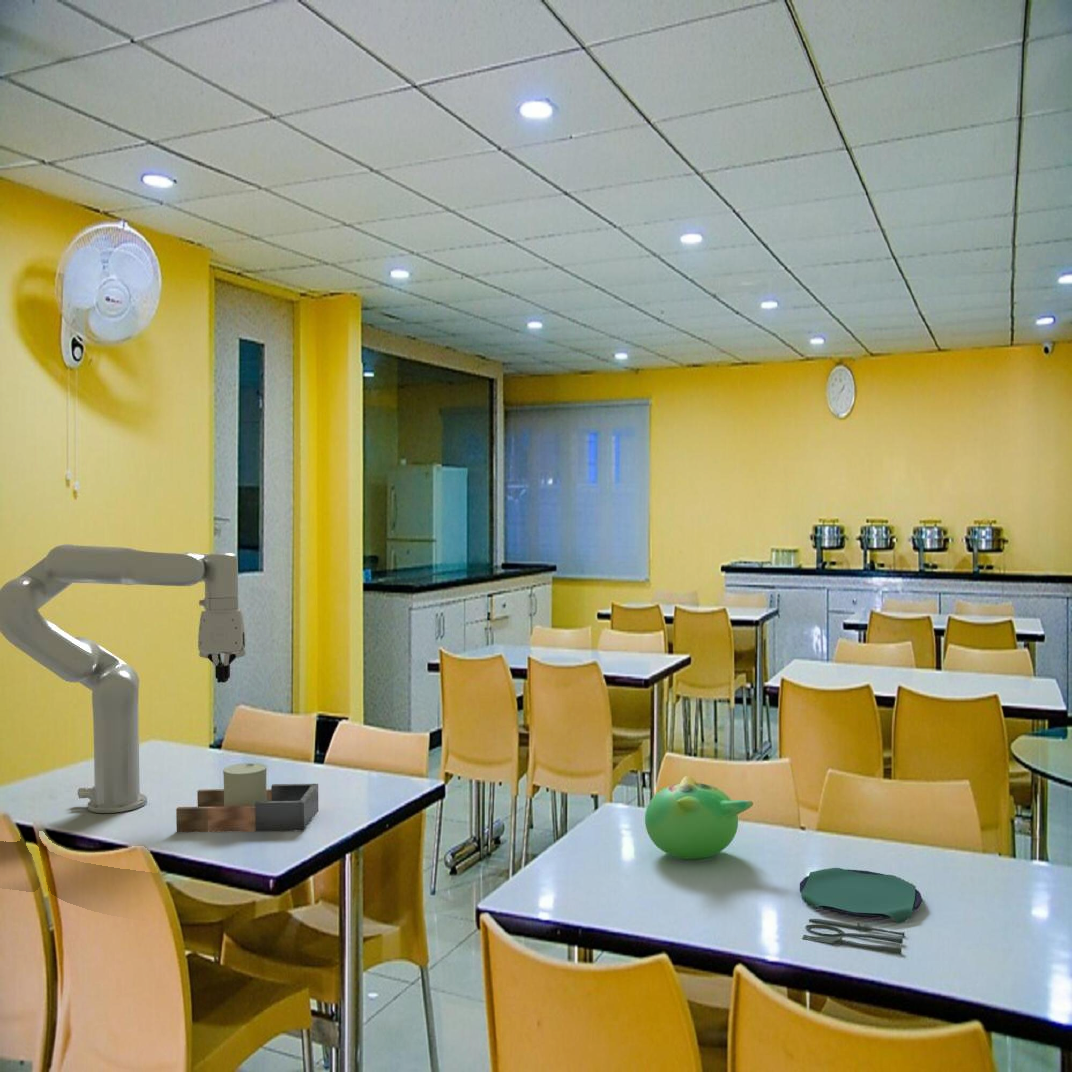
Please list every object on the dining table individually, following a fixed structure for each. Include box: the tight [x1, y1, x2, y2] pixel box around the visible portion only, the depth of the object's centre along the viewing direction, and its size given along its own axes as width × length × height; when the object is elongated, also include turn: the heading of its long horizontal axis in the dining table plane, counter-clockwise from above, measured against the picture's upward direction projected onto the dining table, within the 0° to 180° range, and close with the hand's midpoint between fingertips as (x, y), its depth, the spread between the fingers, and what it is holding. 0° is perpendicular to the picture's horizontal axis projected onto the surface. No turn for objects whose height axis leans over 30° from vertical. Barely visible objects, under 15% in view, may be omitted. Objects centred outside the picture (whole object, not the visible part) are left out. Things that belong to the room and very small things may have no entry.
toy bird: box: [644, 775, 754, 860], centre depth 185 cm, size 18×17×15 cm
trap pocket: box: [255, 783, 320, 832], centre depth 210 cm, size 10×14×6 cm
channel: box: [175, 788, 272, 833], centre depth 209 cm, size 16×14×5 cm
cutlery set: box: [799, 867, 923, 955], centre depth 159 cm, size 20×30×2 cm, turn 155°
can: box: [222, 762, 268, 806], centre depth 210 cm, size 9×9×12 cm
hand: (222, 681), depth 229 cm, fingers closed
